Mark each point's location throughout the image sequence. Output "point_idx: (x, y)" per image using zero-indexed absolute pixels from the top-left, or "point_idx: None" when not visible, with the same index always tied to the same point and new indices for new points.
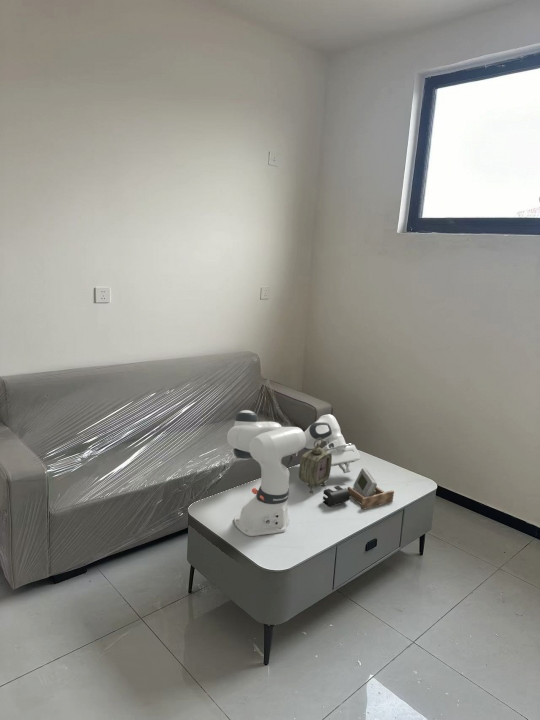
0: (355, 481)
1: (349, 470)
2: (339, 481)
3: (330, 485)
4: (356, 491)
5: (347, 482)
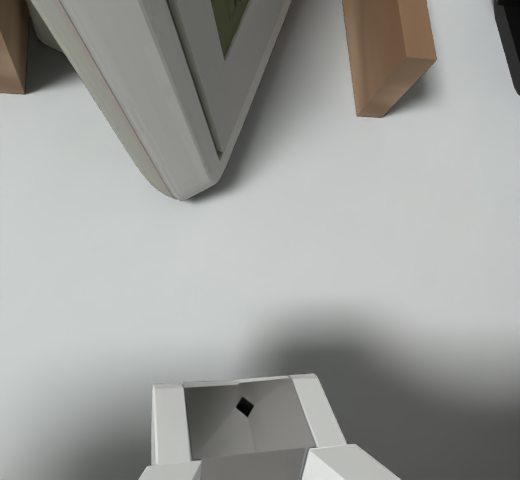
0: (202, 135)
1: (180, 391)
2: None
3: (476, 385)
4: (271, 50)
5: (174, 382)
